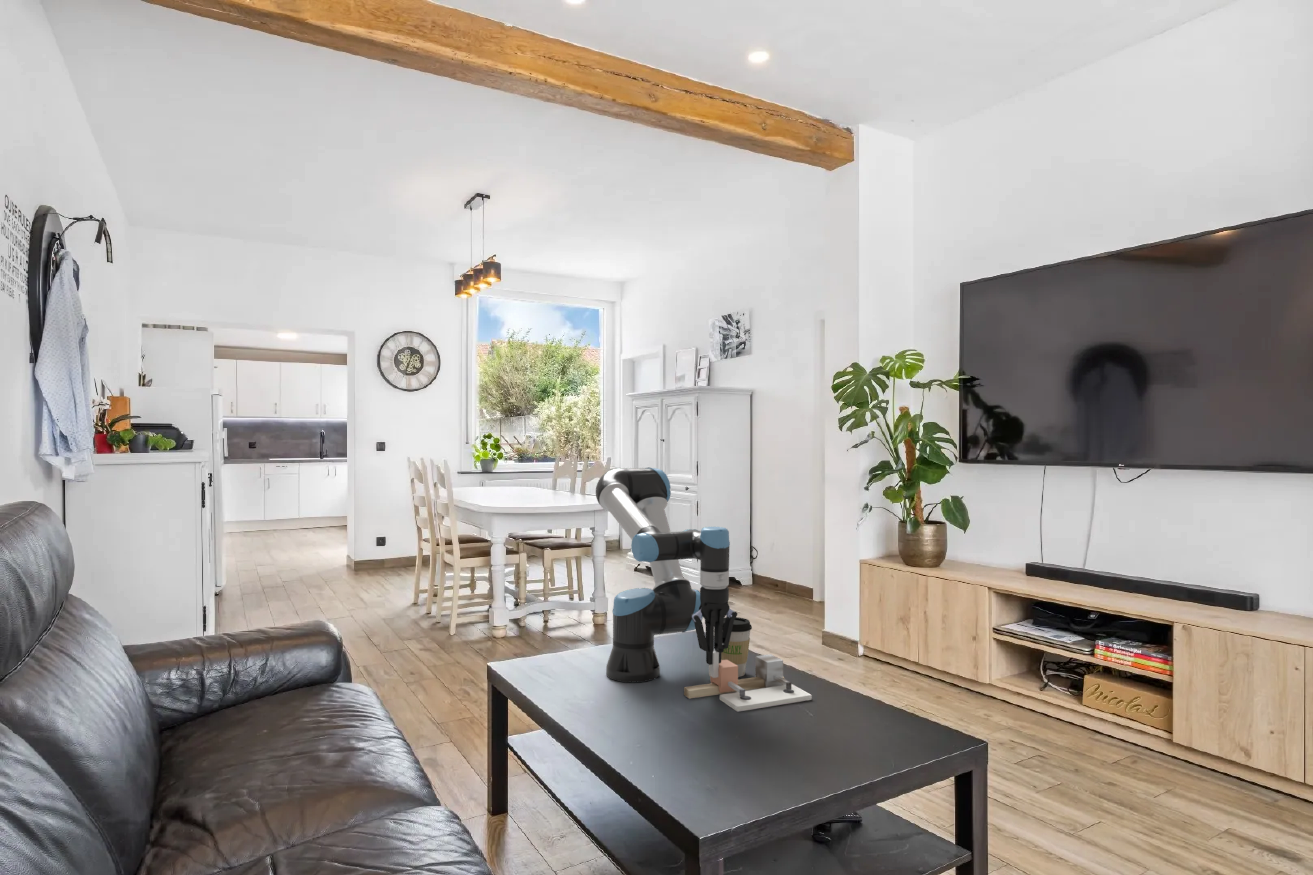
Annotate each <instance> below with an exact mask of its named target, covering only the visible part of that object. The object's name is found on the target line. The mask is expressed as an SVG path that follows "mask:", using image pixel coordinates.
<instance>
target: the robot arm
mask: <svg viewBox="0 0 1313 875" xmlns="http://www.w3.org/2000/svg"><path fill="white" fill-rule="evenodd" d="M671 492H672V490H671V481H670V479H669V478H668V475H667V473H665V471H663V470H662V469H660V468H655V467H642V468H641V467H640V468H639V467H636V468H634V467H633V468H631V467H630V468H628V467H626V468H625V467H624V468H623V467H622V468H619V467H617V468H614V469H613V468H612V469H610V470H608V471H606V472H604V474H603V475H602V476H601V477H600V478H599V480H598V481H597V483H596V486H595V498H596V501H597V503H598V504H599V505H600V507H601V508H602V509H603V510H604V511H605V512H609V513H610V514H611V515H612V517H613V518H614V519H615V520H616V521H617V523H618V524H619V525H620V526H621V528H622V529H623V531H624V532H625V533H626V535H628V537H629V538H630V540H631V545H630V546H631V549H630V550H631V553H632V557H633V558H634V559H635V561H637V562H638V563H639V562H642V563H643V562H644V563H645V562H646V563H649V565H650V569H651V574H652V577H653V580H654V586H653V588H648V587H647V588H646V587H641V588H639V587H637V588H630V589H627V590H622V591H620V592H619V593H617V594H616V595H615V596H614V599H613V605H612V606H613V607H612V649H611V651H610V654H609V657H608V659H607V662H606V669H605V670H606V676H607V677H608V678H609V679H611V680H613V681H618V682H624V683H642V682H643V683H644V682H648V681H649V682H650V681H653V680H655V679H657V678H659V676H660V674H661V672H660V671H661V666H660V665H661V664H660V662H659V659H658V656H657V652H656V649H655V636H658V635H668V634H676V633H677V634H678V633H682V634H683V633H686V632H690V631H695V633H696V638H697V642H698V648H700V650H702V651H703V652H705V653H706V654H705V662H706V664H707V665H708V676H709V677H710V676H711V677H713V678H717V677H719V663H721V653H722V652H723V651H724V650H723V649H725V648H726V649H727V648H728V646H729V641H730V637H731V632H732V628H733V623H734V620H735V618H736V617H738V612H737V611H734V610H733V609H731V607H730V604H729V599H730V598H729V596H730V589H729V587H728V586H729V585H730V584H729V583H730V547H731V546H730V545H731V541H730V531H729V530H728V528H726V527H723V526H705V527H702V528H701V530H698V529H693V528H692V529H691V528H690V529H685V530H683V531H682V530H681V531H672V530H671V529H670V525H669V522H668V518H667V514H666V511H665V509H666V507H667V506H668V502H669V500H670V498H671V494H672V493H671ZM691 559H692V560H693V559H696V560H699V561H700V565H699V566H700V571H699V572H700V573H699V574H700V575H699V577H700V578H699V579H700V580H699V581H700V582H699V584H700V585H701V587H700V588H699V590H698V589H695V588H694V589H693V588H692V584H691V582H690V580H689V579H687V578H685V577H684V576H683V571H682V568H681V565H680V560H691ZM724 618H726V619H725V624H724ZM703 619H704V623H703ZM703 624H704V625H705V630H704V625H703ZM723 624H724V628H723Z"/></svg>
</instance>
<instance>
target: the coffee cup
mask: <svg viewBox="0 0 1313 875" xmlns="http://www.w3.org/2000/svg"><path fill="white" fill-rule="evenodd" d="M725 619H726V617H725V618H724V624H725ZM724 624H723V628H724ZM752 629H753V627H752V624H751V621H750V620H749V619H748V618H745V617H739V616H736V618H735V620H734V623H733V628H732V632H731V637H730V641H729V646H728V648H727V649H726V648H725V649H723V650H724V651H723V652H722V653H721V660H729V661H730V662H732V663H734V664H736V665H737V666H738V678H739V677H743V676H745V674H746V668H747V662H748V657H749V650H750V649H749V648H750V642H751V641H750V640H751V638H750V636H751V630H752Z"/></svg>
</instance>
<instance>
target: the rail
mask: <svg viewBox="0 0 1313 875" xmlns="http://www.w3.org/2000/svg"><path fill="white" fill-rule="evenodd" d="M754 659H755V660H754V662H755V668H754V669H755V672H754V677H746V678H741V679H739V678H738V686H740V687H741V688H743V689H745V691H749V690H756V689H762V688H769V687H776V686H782V685H785V686H786V689H788V690H791V686H792V682H791V681H789V680H788V679H786V678H785V677H784V660H783V659H781V658H779V657H778V656H775V655H773V654H771V653H769V654H761V655H755V658H754ZM736 692H737V691H729V692H722V693H720V692H719V686H718V685H717V684H715V683H711V682H710V683H705V684H698V685H696V684H695V685H690V686H684V687H683V696H685V697H686V698H688V699H690V700H691V699H696V698H702V697H710V696H717V695H722V694H729V693H736Z"/></svg>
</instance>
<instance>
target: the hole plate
mask: <svg viewBox="0 0 1313 875" xmlns="http://www.w3.org/2000/svg"><path fill="white" fill-rule="evenodd" d="M812 697H813V695H812V694H810V693H809V692H807V691H805V690H803V689H802V688H800V687H798V686H796V685H795V684H792V686H791V690H788V689H786V686H785V685H782V686H776V687H769V688H765V687H764V688H757V689H751V690H745V696H744V697H741V696H739V692H731V693H724V694H719V700H720V701H721V702H723V703H724V704H725V705H726V706H728V707H730V708H731V709H733V710H734V711H736V712H743V711H750V710H756V709H761V708H763V709H764V708H769V707H775V706H780V705H787V704H793V703H800V702H804V701H812Z"/></svg>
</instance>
